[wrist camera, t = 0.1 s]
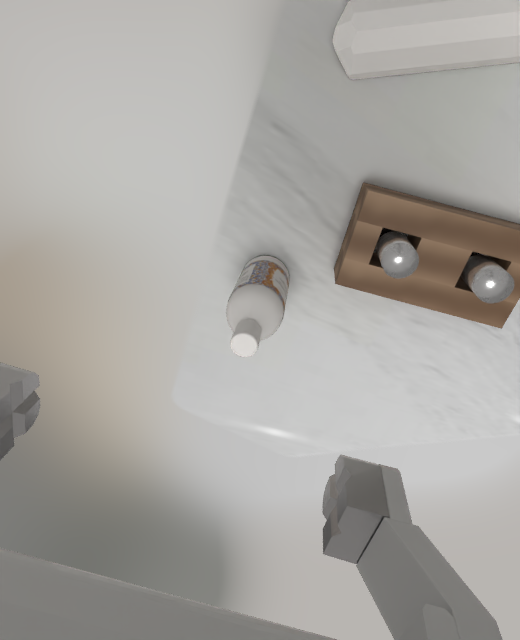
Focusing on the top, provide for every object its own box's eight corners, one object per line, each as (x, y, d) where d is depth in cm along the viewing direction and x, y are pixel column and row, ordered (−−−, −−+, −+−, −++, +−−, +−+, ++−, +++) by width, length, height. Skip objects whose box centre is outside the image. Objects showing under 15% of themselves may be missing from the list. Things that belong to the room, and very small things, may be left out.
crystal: (332, 99, 45) (571, 75, 42) (333, 25, 39) (611, -10, 36) (331, 66, 49) (548, 42, 46) (331, -6, 44) (580, -40, 40)
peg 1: (382, 227, 50) (389, 240, 45) (414, 236, 50) (424, 249, 45) (371, 258, 52) (376, 273, 47) (401, 266, 52) (410, 282, 47)
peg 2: (469, 251, 50) (486, 266, 45) (501, 259, 50) (521, 275, 45) (454, 280, 52) (469, 298, 47) (485, 288, 52) (503, 307, 47)
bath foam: (297, 289, 60) (288, 362, 42) (255, 305, 62) (230, 381, 44) (277, 246, 58) (259, 305, 40) (234, 265, 60) (199, 329, 42)
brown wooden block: (363, 182, 52) (368, 190, 47) (530, 226, 52) (554, 239, 47) (334, 268, 58) (335, 283, 53) (484, 308, 58) (501, 328, 52)
